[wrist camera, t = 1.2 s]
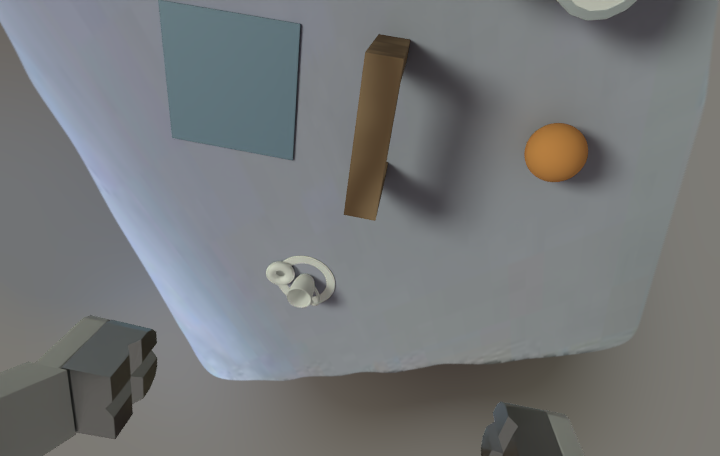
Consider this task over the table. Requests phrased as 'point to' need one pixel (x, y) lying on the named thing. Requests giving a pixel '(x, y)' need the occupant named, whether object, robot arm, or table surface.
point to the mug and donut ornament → (300, 281)
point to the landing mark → (231, 78)
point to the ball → (556, 152)
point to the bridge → (374, 124)
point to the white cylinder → (595, 8)
